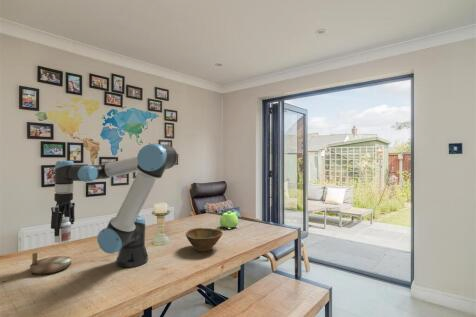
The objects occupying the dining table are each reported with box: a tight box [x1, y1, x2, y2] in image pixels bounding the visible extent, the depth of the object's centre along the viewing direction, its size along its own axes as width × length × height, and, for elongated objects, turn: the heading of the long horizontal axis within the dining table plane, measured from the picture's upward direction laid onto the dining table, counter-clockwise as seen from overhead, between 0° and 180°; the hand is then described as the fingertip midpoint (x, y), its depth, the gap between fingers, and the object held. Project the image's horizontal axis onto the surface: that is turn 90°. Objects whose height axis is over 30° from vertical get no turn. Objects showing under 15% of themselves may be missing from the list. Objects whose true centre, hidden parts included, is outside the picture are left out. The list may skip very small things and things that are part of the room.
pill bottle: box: [60, 216, 72, 243], centre depth 129 cm, size 6×6×11 cm
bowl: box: [185, 227, 224, 252], centre depth 158 cm, size 22×23×10 cm
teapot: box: [219, 210, 239, 229], centre depth 208 cm, size 20×13×13 cm
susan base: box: [42, 269, 64, 275], centre depth 127 cm, size 12×12×1 cm
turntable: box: [29, 252, 72, 275], centre depth 127 cm, size 16×16×7 cm
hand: (62, 239), depth 129 cm, fingers closed on pill bottle, 6 cm apart
